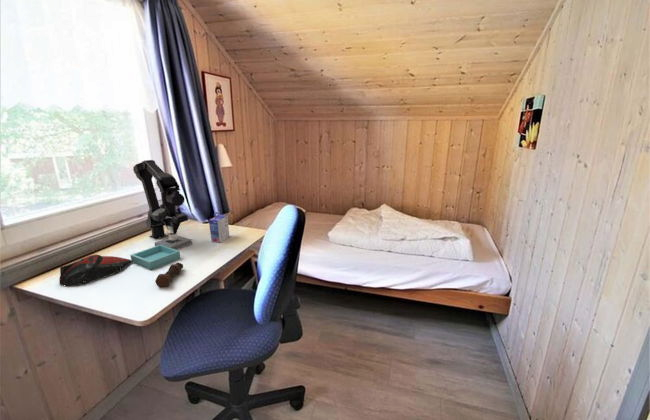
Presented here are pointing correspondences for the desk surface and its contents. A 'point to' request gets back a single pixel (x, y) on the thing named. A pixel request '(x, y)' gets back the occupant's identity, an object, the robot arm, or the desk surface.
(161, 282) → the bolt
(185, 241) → the frame
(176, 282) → the desk surface
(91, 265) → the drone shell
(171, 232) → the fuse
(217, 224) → the ink cartridge box
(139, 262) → the parts tray
